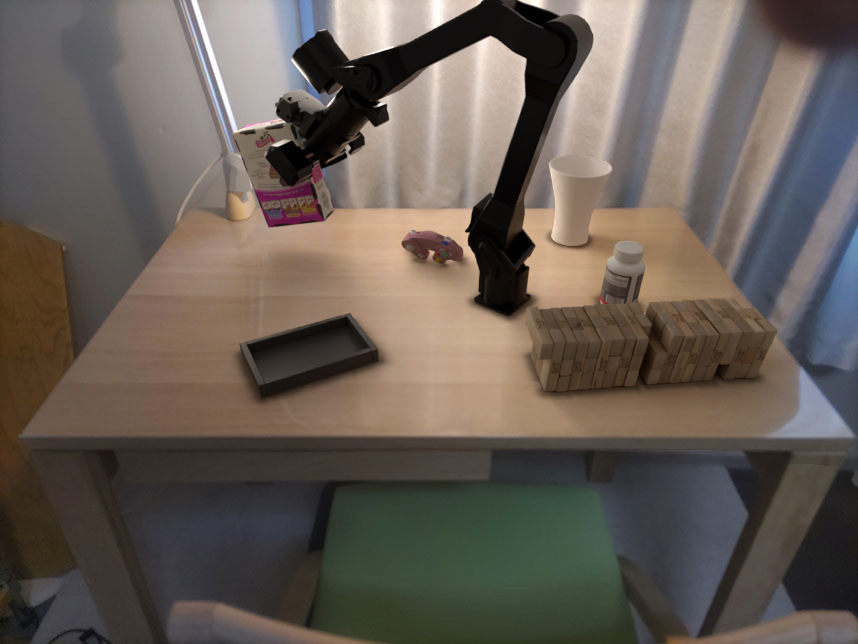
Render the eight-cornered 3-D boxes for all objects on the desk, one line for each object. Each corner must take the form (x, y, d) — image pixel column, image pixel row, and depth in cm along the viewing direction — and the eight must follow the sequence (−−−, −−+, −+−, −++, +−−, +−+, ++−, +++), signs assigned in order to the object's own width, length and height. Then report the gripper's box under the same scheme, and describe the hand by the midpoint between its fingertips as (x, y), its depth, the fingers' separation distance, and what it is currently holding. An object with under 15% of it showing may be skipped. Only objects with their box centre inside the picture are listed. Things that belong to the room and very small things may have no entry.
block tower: (724, 347, 83) (518, 355, 80) (744, 296, 79) (526, 301, 75) (755, 384, 77) (532, 394, 74) (779, 331, 72) (542, 338, 69)
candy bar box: (336, 209, 103) (306, 112, 94) (325, 222, 99) (292, 122, 90) (280, 216, 106) (245, 123, 98) (267, 228, 102) (229, 133, 94)
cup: (530, 242, 107) (539, 169, 99) (553, 220, 114) (562, 150, 107) (587, 257, 102) (600, 182, 95) (607, 234, 110) (621, 162, 102)
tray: (351, 323, 86) (350, 312, 85) (378, 361, 79) (378, 349, 78) (241, 355, 80) (239, 343, 79) (261, 398, 73) (258, 386, 72)
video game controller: (403, 264, 103) (395, 239, 97) (413, 243, 105) (405, 217, 99) (458, 275, 100) (452, 250, 94) (466, 254, 102) (461, 228, 96)
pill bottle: (621, 292, 93) (634, 235, 88) (643, 310, 89) (658, 252, 84) (591, 298, 92) (602, 241, 86) (612, 317, 88) (625, 258, 82)
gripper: (343, 61, 94) (296, 123, 104) (264, 88, 80) (219, 156, 91) (389, 119, 95) (338, 174, 106) (318, 155, 82) (267, 214, 92)
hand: (293, 178), depth 99 cm, fingers closed on candy bar box, 5 cm apart
